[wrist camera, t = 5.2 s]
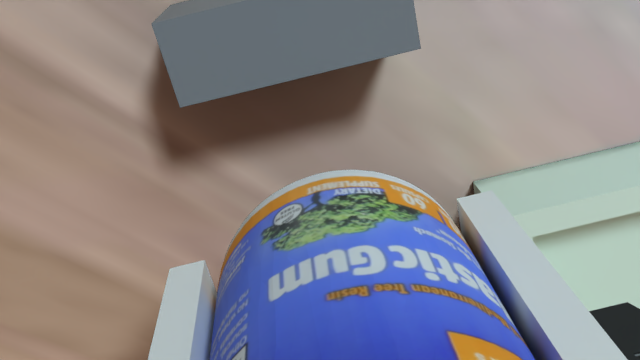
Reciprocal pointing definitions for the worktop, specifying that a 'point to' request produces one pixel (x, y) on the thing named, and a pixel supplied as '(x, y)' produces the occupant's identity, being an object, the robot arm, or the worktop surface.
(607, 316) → the robot arm
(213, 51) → the block
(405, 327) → the pill bottle
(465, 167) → the worktop surface
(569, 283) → the tray
